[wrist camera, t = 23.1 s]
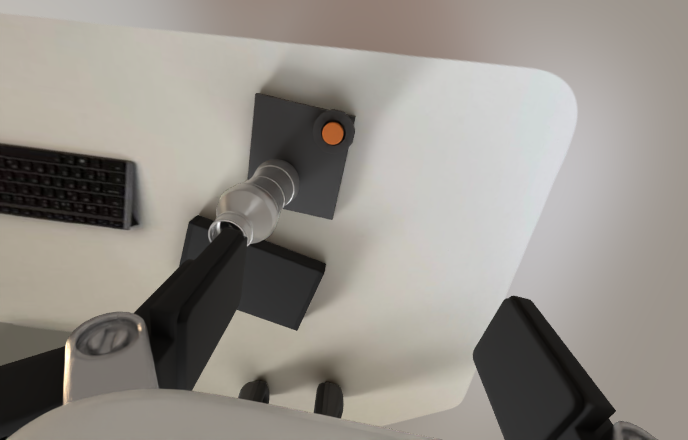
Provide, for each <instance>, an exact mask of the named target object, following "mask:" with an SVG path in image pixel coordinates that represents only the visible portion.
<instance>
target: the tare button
mask: <svg viewBox="0 0 688 440" xmlns="http://www.w3.org/2000/svg"><path fill="white" fill-rule="evenodd" d="M343 134H344V131H343V128H342V126H341V125H340V124H339V123H337V122H330V123H328V124H327V125H326V126H325V127H324V128H323V131H322V137H323V139H324V141H325V142H326V143H328V144H331V145H335V144H337V143H339V142H340V141H341V140H342V138H343Z"/></svg>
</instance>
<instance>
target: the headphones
mask: <svg viewBox="0 0 688 440" xmlns="http://www.w3.org/2000/svg"><path fill="white" fill-rule="evenodd" d="M238 398H239V399H244V400H250V401H255V402H260V403H266V404H269V390H268V387H267V384H266V383H265V382H263V381H262V382H260V381H255V382H249V383H247V384H245V385H244V386H243V387H242V389H241V391H240V393H239V397H238ZM314 413H316V414H320V415H325V416H330V417H335V418H340V419H341V416H342V413H343V393H342V390H341V388H340V387H339V386H338V385H336V384H330V383H329V382H326V383H321V384H319V386H318V388H317V393H316V400H315V407H314Z"/></svg>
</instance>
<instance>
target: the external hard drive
mask: <svg viewBox="0 0 688 440" xmlns="http://www.w3.org/2000/svg"><path fill="white" fill-rule="evenodd" d="M213 222H214V221H212V220H210V219H207V218H205V217H202V216H199V215H197V216H196V217H194V218H193V219H192V220H191V221H190V222H189V224H188V229H187V233H186V238H185V243H184V247H183V252H182V256H181V261H180V265H179V267H180V266H181V265H182V264H183V263H184V262H185V261H186V260H188V259H193V260H195V259H196V258H197V257H198V256H199V255H200V254H201V253H202V252H203V251H204V249H205V248H206V247H207V246H208V245H209V244H210V243H211V242H210V240H209V237H208V231H209V228H210V226H211V224H212V223H213ZM325 267H326V264H325V263H322V262H320V261H317V260H315V259H312V258H309V257H307V256H304V255H302V254H299V253H296V252H294V251H291V250H288V249H286V248H283V247H281V246H278V245H275V244H273V243H270V242H267V241H265V240H262V241H260V242H258V243H253V244H249V245H248V246H247V251H246V260H245V268H244V277H243V286H242V295H241V300H240V303H239V306H238V308H237V310H239V311H242V312H245V313H248V314H251V315H254V316H256V317H259V318H262V319H265V320H268V321H271V322H274V323H276V324H279V325H282V326H285V327H288V328H291V329H294V330H296V331H297V330H298V328H299V326H300V324H301V322H302V320H303V317H304V315H305V313H306V311H307V309H308V307H309V305H310V302H311V300H312V298H313V296H314V294H315V292H316V290H317V287H318V285H319V283H320V281H321V279H322V277H323V275H324V272H325Z"/></svg>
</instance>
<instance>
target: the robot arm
mask: <svg viewBox="0 0 688 440" xmlns="http://www.w3.org/2000/svg"><path fill="white" fill-rule="evenodd" d="M247 242H248V238H247V237H245V236H243V232H242V231H238V230H234V229H230V228H224V229H223V230H222V231H221V233H220V234H219V235H218V236H217V237H216V238H215V239H214V240H213V241H212V242H211V243H210V244H209V245H208V246H207V247H206V248H205V249H204V251H203V252H202V253H201V254H200V255H199V256H198V257H197V258H196V259H195V260H193V259H188V260H186V261H185V262H184V263H183V264H182V265H181V266H180V267H179V268H178V269H177V270H176V271H175V272H174V273H173V274H172V275H171V276H170V277H169V278H168V279H167V280H166V281H165V282H164V283H163V284H162V285H161V286H160V287H159V288H158V289H157V290H156V291H155V292H154V293H153V294H152V295H151V296H150V297H149V298H148V299H147V300H146V301H145V302H144V303H143V304H142V305H141V306H140V307H139V308H138V309H137V310H136V311H135V312H134V313H130V312H112V313H106V314H103V315H99V316H96V317H94V318H92V319H90V320H88V321H86V322H84V323H83V324H81V325H80V326H79V327H77V328H76V329H75V330H74V331H73V332H72V333H71V335H70V336H69V337H68V340H67V343H66V346H64V347H61V348H58V349H54V350H51V351H48V352H45V353H41V354H38V355H35V356H32V357H28V358H25V359H22V360H18V361H15V362H12V363H9V364H6V365H2V366H0V440H441V439H436V438H431V437H427V436H422V435H417V434H412V433H408V432H402V431H398V430H393V429H388V428H384V427H379V426H374V425H369V424H365V423H360V422H355V421H350V420H345V419H340V418H335V417H330V416H325V415H320V414H316V413H311V412H306V411H301V410H296V409H291V408H286V407H281V406H276V405H271V404H266V403H260V402H255V401H250V400H244V399H239V398H233V397H228V396H223V395H217V394H210V393H203V392H196V391H192V389H193V388H194V386H195V384H196V382H197V380H198V378H199V377H200V375H201V373H202V371H203V369H204V368H205V366H206V364H207V362H208V360H209V359H210V357H211V355H212V353H213V351H214V350H215V348H216V346H217V344H218V342H219V341H220V339H221V337H222V335H223V333H224V332H225V330H226V328H227V326H228V324H229V323H230V321H231V319H232V317H233V315H234V313H235V312H236V310H237V308H238V306H239V303H240V300H241V295H242V286H243V277H244V268H245V260H246V251H247ZM473 360H474V363H475V365H476V368H477V370H478V373H479V375H480V378H481V380H482V383H483V386H484V388H485V391H486V393H487V396H488V398H489V401H490V403H491V406H492V408H493V411H494V414H495V416H496V419H497V421H498V424H499V426H500V429H501V431H502V434H503V436H504V439H505V440H657V439H656V438H655V437H654V436H652V435H651V434H649V433H648V432H647V431H645V430H643V429H642V428H640V427H638V426H636V425H634V424H631V423H629V422H624V421H619V422H616V423H615V424H614V425H613V424H612V423H611V421H610V420H609V417H610V416H611V415H613V414H614V413H615V411H616V410H615V409H614V408H613V407H612V405H611V404H610V403H609V401H608V400H607V399H606V397H605V396H604V395H603V393H602V392H601V391H600V389H599V388H598V387H597V386H596V385H595V383H594V382H593V380H592V379H591V378H590V377H589V375H588V374H587V372H586V371H585V370H584V369H583V367H582V366H581V365H580V363H579V362H578V361H577V359H576V358H575V357H574V356H573V354H572V353H571V352H570V350H569V349H568V348H567V346H566V345H565V344H564V343H563V341H562V340H561V339H560V337H559V336H558V335H557V333H556V332H555V331H554V329H553V328H552V327H551V325H550V324H549V323H548V322H547V320H546V319H545V318H544V316H543V315H542V314H541V312H540V311H539V310H538V308H537V307H536V306H535V305H534V303H533V302H532V301H531V300H529V299H525V298H521V297H517V296H511V297H509V298H508V299H505V300H504V301H503V302H502V304H501V306H500V307H499V309H498V311H497V312H496V314H495V316H494V317H493V319H492V321H491V322H490V324H489V326H488V327H487V329H486V331H485V332H484V334H483V336H482V337H481V339H480V341H479V342H478V344H477V346H476V347H475V349H474V351H473Z"/></svg>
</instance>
